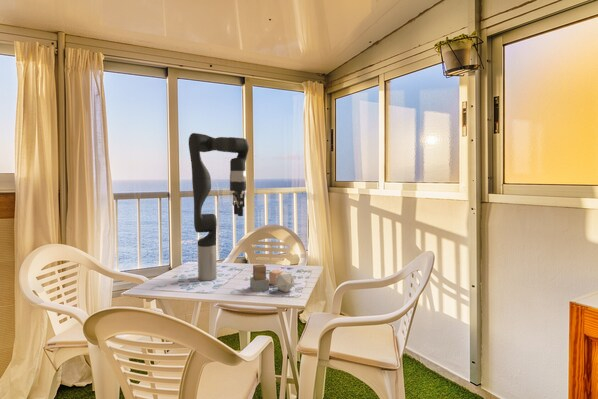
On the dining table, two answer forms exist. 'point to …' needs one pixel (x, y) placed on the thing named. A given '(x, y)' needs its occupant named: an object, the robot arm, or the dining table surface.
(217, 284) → the dining table surface
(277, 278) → the die
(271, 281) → the terracotta block
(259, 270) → the walnut block
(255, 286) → the slate block
